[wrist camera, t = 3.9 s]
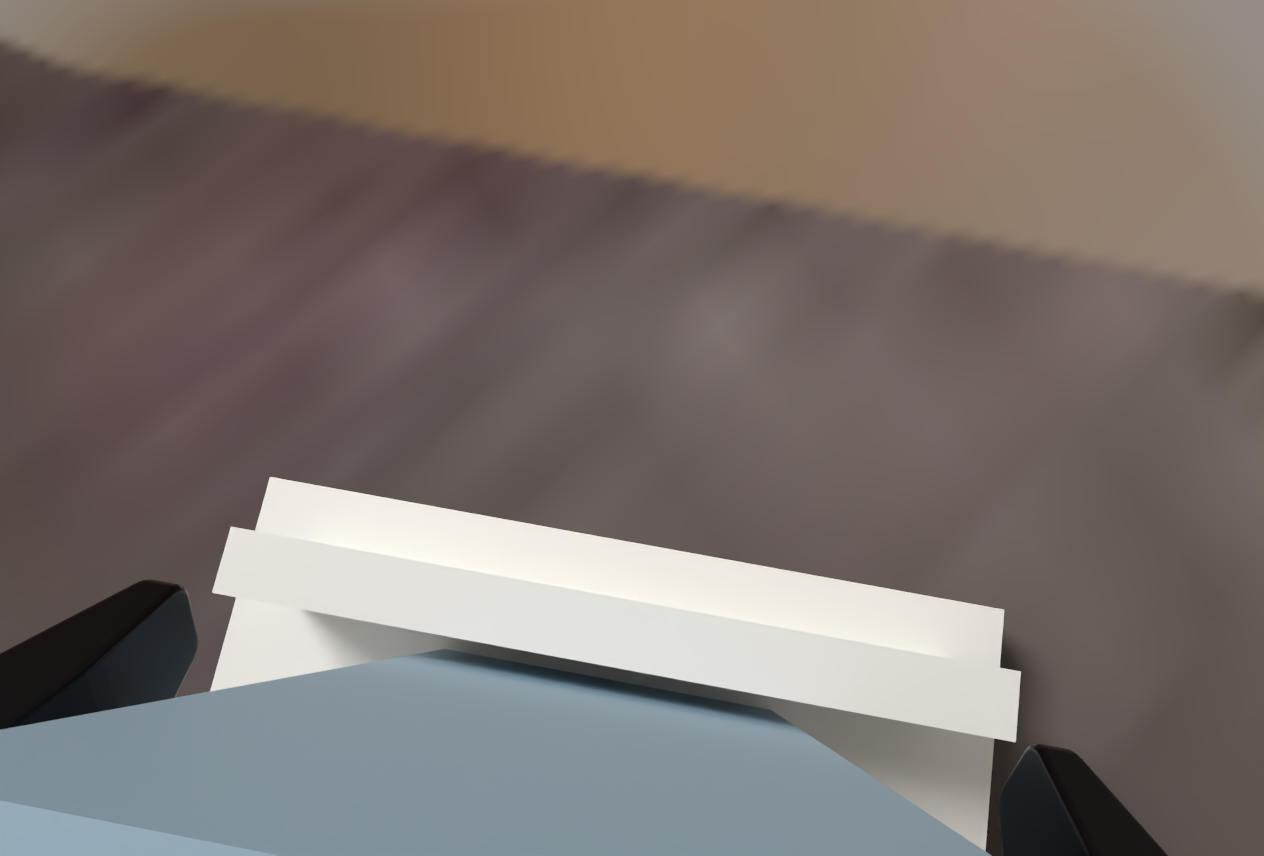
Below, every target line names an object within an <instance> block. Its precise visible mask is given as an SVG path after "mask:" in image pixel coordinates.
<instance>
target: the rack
mask: <svg viewBox="0 0 1264 856" xmlns="http://www.w3.org/2000/svg"><path fill="white" fill-rule="evenodd" d="M212 593H217V594H222V595H227V596H233V597H236V601H235V604H234V608H233V611H232V615H231V619H230V622H229V626H228V629H227V633H226V637H225V640H224V644H223V647H222V651H221V654H220V658H219V662H218V665H217V669H216V672H215V676H214V679H213V683H212V687H211V690H210V691H216V690H221V689H227V688H232V687H238V686H243V685H249V684H254V683H260V682H265V681H271V680H276V679H282V678H287V677H293V676H298V675H304V674H309V673H315V672H320V671H326V670H331V669H337V668H342V667H348V666H353V665H359V664H364V663H370V662H375V661H381V660H386V659H392V658H397V657H403V656H408V655H414V654H419V653H425V652H430V651H435V650H441V649H449V650H454V651H460V652H465V653H470V654H476V655H481V656H486V657H492V658H497V659H502V660H508V661H513V662H518V663H524V664H529V665H534V666H540V667H545V668H550V669H556V670H561V671H567V672H572V673H577V674H583V675H588V676H593V677H599V678H604V679H609V680H615V681H620V682H625V683H631V684H636V685H641V686H647V687H652V688H657V689H663V690H668V691H673V692H679V693H684V694H690V695H695V696H700V697H706V698H711V699H716V700H722V701H727V702H732V703H738V704H743V705H748V706H754V707H759V708H764V709H770V710H772V711H773V712H775V713H776V714H778V715H779V716H781V717H783V718H784V719H786V720H787V721H789V722H790V723H792V724H793V725H795V726H796V727H798V728H799V729H801V730H802V731H804V732H805V733H807V734H808V735H810V736H811V737H813V738H814V739H816V740H817V741H819V742H820V743H822V744H823V745H825V746H826V747H828V748H829V749H831V750H833V751H834V752H836V753H837V754H839V755H840V756H842V757H843V758H845V759H846V760H848V761H849V762H851V763H852V764H854V765H855V766H857V767H858V768H860V769H861V770H863V771H864V772H866V773H867V774H869V775H870V776H872V777H873V778H875V779H876V780H878V781H879V782H881V783H883V784H884V785H886V786H887V787H889V788H890V789H892V790H893V791H895V792H896V793H898V794H899V795H901V796H902V797H904V798H905V799H907V800H908V801H910V802H911V803H913V804H914V805H916V806H917V807H919V808H920V809H922V810H923V811H925V812H926V813H928V814H929V815H931V816H933V817H934V818H936V819H937V820H939V821H940V822H942V823H943V824H945V825H946V826H948V827H949V828H951V829H952V830H954V831H955V832H957V833H958V834H960V835H961V836H963V837H964V838H966V839H967V840H969V841H970V842H972V843H973V844H975V845H976V846H978V847H979V848H981V849H983V850H984V851H986V839H987V826H988V813H989V800H990V787H991V774H992V762H993V749H994V739H1000V740H1005V741H1011V742H1016V733H1017V719H1018V706H1019V692H1020V678H1021V671H1015V670H1010V669H1004V668H1000V659H1001V646H1002V633H1003V620H1004V610H1003V609H997V608H992V607H986V606H981V605H975V604H970V603H964V602H958V601H953V600H947V599H942V598H936V597H931V596H925V595H920V594H914V593H909V592H903V591H898V590H892V589H887V588H881V587H876V586H870V585H865V584H859V583H854V582H848V581H842V580H837V579H831V578H826V577H820V576H815V575H809V574H804V573H798V572H793V571H787V570H782V569H776V568H771V567H765V566H760V565H754V564H749V563H743V562H737V561H732V560H726V559H721V558H715V557H710V556H704V555H699V554H693V553H688V552H682V551H677V550H671V549H666V548H660V547H655V546H649V545H644V544H638V543H632V542H627V541H621V540H616V539H610V538H605V537H599V536H594V535H588V534H583V533H577V532H572V531H566V530H561V529H555V528H550V527H544V526H539V525H533V524H528V523H522V522H516V521H511V520H505V519H500V518H494V517H489V516H483V515H478V514H472V513H467V512H461V511H456V510H450V509H445V508H439V507H434V506H428V505H423V504H417V503H411V502H406V501H400V500H395V499H389V498H384V497H378V496H373V495H367V494H362V493H356V492H351V491H345V490H340V489H334V488H329V487H323V486H318V485H312V484H306V483H301V482H295V481H290V480H284V479H279V478H273V477H270V479H269V483H268V486H267V490H266V494H265V497H264V501H263V504H262V508H261V511H260V515H259V519H258V522H257V526H256V529H255V531H252V530H247V529H241V528H236V527H231V528H230V532H229V535H228V539H227V542H226V546H225V549H224V553H223V556H222V560H221V563H220V567H219V570H218V574H217V577H216V581H215V584H214V588H213V591H212Z"/></svg>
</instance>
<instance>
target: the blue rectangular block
mask: <svg viewBox="0 0 1264 856" xmlns="http://www.w3.org/2000/svg"><path fill="white" fill-rule="evenodd" d="M0 856H992V855H990V854H989V853H987V852H986V851H984V850H983V849H981V848H979V847H978V846H976V845H975V844H973V843H972V842H970V841H969V840H967V839H966V838H964V837H963V836H961V835H960V834H958V833H957V832H955V831H954V830H952V829H951V828H949V827H948V826H946V825H945V824H943V823H942V822H940V821H939V820H937V819H936V818H934V817H933V816H931V815H929V814H928V813H926V812H925V811H923V810H922V809H920V808H919V807H917V806H916V805H914V804H913V803H911V802H910V801H908V800H907V799H905V798H904V797H902V796H901V795H899V794H898V793H896V792H895V791H893V790H892V789H890V788H889V787H887V786H886V785H884V784H883V783H881V782H879V781H878V780H876V779H875V778H873V777H872V776H870V775H869V774H867V773H866V772H864V771H863V770H861V769H860V768H858V767H857V766H855V765H854V764H852V763H851V762H849V761H848V760H846V759H845V758H843V757H842V756H840V755H839V754H837V753H836V752H834V751H833V750H831V749H829V748H828V747H826V746H825V745H823V744H822V743H820V742H819V741H817V740H816V739H814V738H813V737H811V736H810V735H808V734H807V733H805V732H804V731H802V730H801V729H799V728H798V727H796V726H795V725H793V724H792V723H790V722H789V721H787V720H786V719H784V718H783V717H781V716H779V715H778V714H776V713H775V712H773V711H772V710H770V709H764V708H759V707H754V706H748V705H743V704H738V703H732V702H727V701H722V700H716V699H711V698H706V697H700V696H695V695H690V694H684V693H679V692H673V691H668V690H663V689H657V688H652V687H647V686H641V685H636V684H631V683H625V682H620V681H615V680H609V679H604V678H599V677H593V676H588V675H583V674H577V673H572V672H567V671H561V670H556V669H550V668H545V667H540V666H534V665H529V664H524V663H518V662H513V661H508V660H502V659H497V658H492V657H486V656H481V655H476V654H470V653H465V652H460V651H454V650H449V649H441V650H435V651H430V652H425V653H419V654H414V655H408V656H403V657H397V658H392V659H386V660H381V661H375V662H370V663H364V664H359V665H353V666H348V667H342V668H337V669H331V670H326V671H320V672H315V673H309V674H304V675H298V676H293V677H287V678H282V679H276V680H271V681H265V682H260V683H254V684H249V685H243V686H238V687H232V688H227V689H221V690H216V691H210V692H205V693H199V694H194V695H188V696H183V697H177V698H172V699H166V700H161V701H155V702H150V703H144V704H139V705H133V706H128V707H122V708H117V709H111V710H106V711H100V712H95V713H89V714H84V715H79V716H73V717H68V718H62V719H57V720H51V721H46V722H40V723H35V724H29V725H24V726H18V727H13V728H7V729H2V730H0Z"/></svg>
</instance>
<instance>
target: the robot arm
mask: <svg viewBox="0 0 1264 856" xmlns="http://www.w3.org/2000/svg"><path fill="white" fill-rule="evenodd" d="M197 647H198V635H197V631H196V626H195V622H194V617H193V613H192V608H191V603H190V599H189V595H188V592H187V591H186V590H185V588H184V587H183V586H180V585H178V584H172V583H167V582H162V581H156V580H143V581H140V582H138V583H135V584H133V585H131V586H129V587H128V588H126V589H124V590H122V591H120V592H118V593H116V594H114V595H112V596H110V597H108V598H106V599H104V600H103V601H101V602H99V603H97V604H95V605H93V606H91V607H89V608H87V609H85V610H83V611H81V612H79V613H78V614H76V615H74V616H72V617H70V618H68V619H66V620H64V621H62V622H60V623H58V624H56V625H54V626H53V627H51V628H49V629H47V630H45V631H43V632H41V633H39V634H37V635H35V636H33V637H31V638H29V639H28V640H26V641H24V642H22V643H20V644H18V645H16V646H14V647H12V648H10V649H8V650H6V651H4V652H3V653H1V654H0V730H2V729H7V728H13V727H18V726H24V725H29V724H35V723H40V722H46V721H51V720H57V719H62V718H68V717H73V716H79V715H84V714H89V713H95V712H100V711H106V710H111V709H117V708H122V707H128V706H133V705H139V704H144V703H150V702H155V701H161V700H166V699H172V698H175V696H176V694H177V692H178V690H179V688H180V686H181V685H182V683H183V681H184V679H185V677H186V675H187V673H188V671H189V669H190V667H191V665H192V663H193V660H194V658H195V655H196V652H197ZM998 815H999V824H1000V834H1001V843H1002V852H1003V856H1168V855H1167V854H1166V853H1165V852H1164V851H1163V850H1162V848H1161V847H1160V846H1159V845H1158V844H1157V843H1156V842H1155V841H1154V839H1153V838H1152V837H1151V836H1150V835H1149V834H1148V833H1147V832H1146V830H1145V829H1144V828H1143V827H1142V826H1141V825H1140V824H1139V823H1138V821H1137V820H1136V819H1135V818H1134V817H1133V816H1132V815H1131V814H1130V812H1129V811H1128V810H1127V809H1126V808H1125V807H1124V806H1123V805H1122V803H1121V802H1120V801H1119V800H1118V799H1117V798H1116V797H1115V796H1114V794H1113V793H1112V792H1111V791H1110V790H1109V789H1108V788H1107V787H1106V785H1105V784H1104V783H1103V782H1102V781H1101V780H1100V779H1099V778H1098V776H1097V775H1096V774H1095V773H1094V772H1093V771H1092V770H1091V769H1090V767H1089V766H1088V765H1087V764H1086V763H1085V762H1084V761H1083V760H1082V759H1081V758H1080V757H1079V756H1078V755H1077V754H1076V753H1074V752H1073V751H1071V750H1068V749H1064V748H1059V747H1053V746H1048V745H1042V744H1033V745H1031V746H1029V747H1028V748H1027V749H1026V750H1025V751H1024V753H1023V755H1022V756H1021V758H1020V760H1019V761H1018V763H1017V764H1016V766H1015V768H1014V769H1013V771H1012V773H1011V774H1010V776H1009V778H1008V779H1007V781H1006V782H1005V784H1004V786H1003V788H1002V790H1001V793H1000V796H999V802H998Z"/></svg>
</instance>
